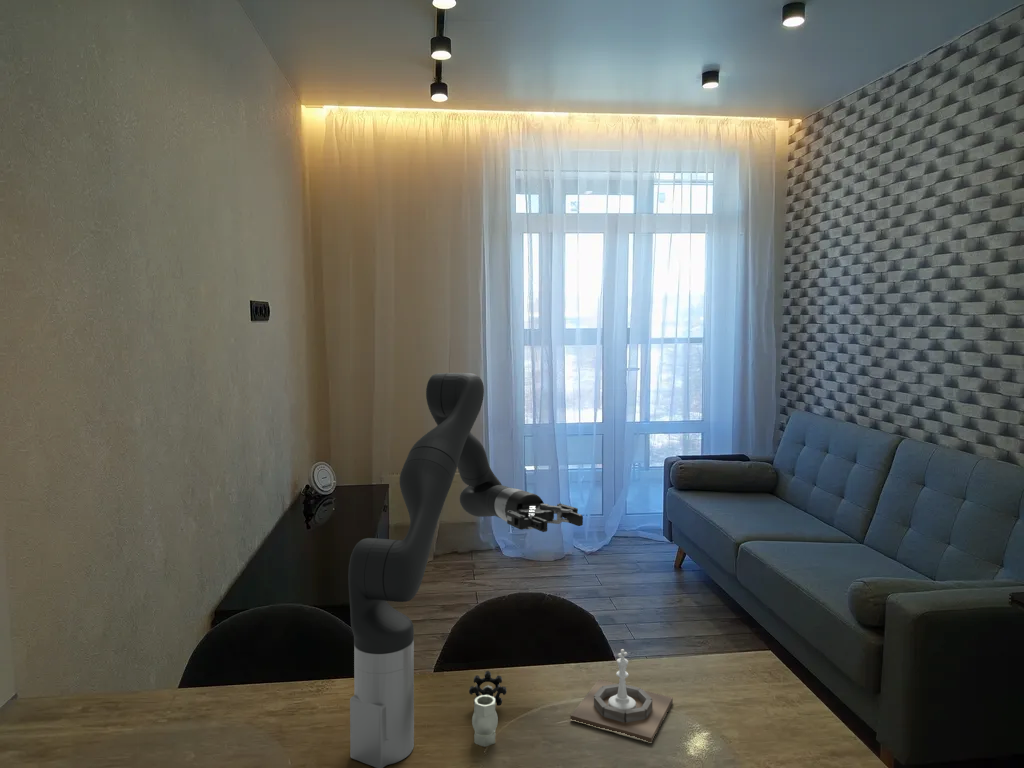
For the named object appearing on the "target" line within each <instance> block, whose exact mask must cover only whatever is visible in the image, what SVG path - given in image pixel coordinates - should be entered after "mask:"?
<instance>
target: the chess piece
mask: <svg viewBox="0 0 1024 768" xmlns="http://www.w3.org/2000/svg"><path fill="white" fill-rule="evenodd" d="M627 656H628V652H627V651H625V649H624V648H622V649H620V652H619V653H617V657H619V658H617V659H616V664H617V666H618V671H616V673H615V675H616V677H618V678H619V679H618V681H619V682H618V683H619V687H618V693H617V694H616V695H614V696H612V697H610V698H609V700H608V706H610V707H614V708H618V709H621V710H630V709H636V702H635V700H634V699H633V698H631V697H629V696H628V695H627V691H626V685H627V684H626V683H627V682H626V678H628V677H629V673H628V671H627V667H628V665H629V660H628V659H627V658H625V657H627Z"/></svg>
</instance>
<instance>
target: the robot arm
mask: <svg viewBox="0 0 1024 768" xmlns="http://www.w3.org/2000/svg"><path fill="white" fill-rule="evenodd" d="M484 395H485V386H484V383H483V380H482V378H481V376H479V375H477V374H475V373H472V372H471V373H470V372H438V373H434V374H433V375H431V376H430V377H429V379H428V381H427V384H426V389H425V397H426V403H427V406H428V407H427V408H428V410H429V412H430V414H431V416H432V418H433V420H434V421H435V423H436V425H437V426H435V427H434V428H432V429H431V430H429V431H428V432H427V433H425V434H424V435H422V437H420V438H419V439H418V440H417V441H416V442H415V443H414V445H412V447H411V448H410V450H409V452H408V454H407V457H406V459H405V462H404V463H403V466H402V468H401V471H400V475H399V488H400V493H401V495H402V498H403V500H404V501H403V502H404V503H405V506H406V509H407V512H408V515H409V528H408V531H407V533H406V536H405V537H404V538H403V539H402V540H400V539H388V538H373V537H367V538H363V539H361V540H359V541H358V542H356V544H355V546H354V548H353V549H352V552H351V555H350V558H349V563H348V564H349V565H348V576H347V577H348V595H349V609H350V611H349V612H350V614H349V615H350V628H351V632H352V634H353V647H354V651H353V653H354V654H353V655H354V656H353V657H354V658H353V659H354V660H353V661H354V662H353V663H354V664H353V666H354V667H353V668H354V669H353V670H354V671H353V672H354V673H353V675H354V678H353V679H354V682H353V683H354V684H353V685H354V687H353V688H354V695H353V696H351V697H350V699H349V736H350V738H349V741H350V742H349V743H350V748H349V749H350V758H351V759H353V760H354V761H358V762H360V763H363V764H366V765H368V766H372V767H374V768H385V767H386V766H388V765H393V764H396V763H399V762H400V761H402V760H405V758H407V757H408V756H410V754H411V753H412V752H413V749H414V747H415V705H414V704H415V695H414V693H415V691H414V690H415V688H414V687H415V685H414V684H415V683H414V682H415V680H414V679H415V678H414V676H415V674H414V673H415V671H414V670H415V669H414V667H415V666H414V664H415V663H414V661H415V659H414V658H415V651H414V650H415V643H414V641H415V640H414V638H415V637H414V629H415V628H414V623H413V622H412V619H410V617H409V616H407V615H406V614H404V613H402V612H401V611H399V610H397V609H395V608H394V607H393V606H392V605H390V603H388V602H396V603H397V602H398V603H406V602H409V601H411V600H412V599H413V598H414V597H415V596H416V594H417V593H418V592H419V589H420V587H421V585H422V582H423V578H424V575H425V572H426V567H427V564H428V560H429V557H430V554H431V553H430V552H431V548H432V544H433V540H434V536H435V532H436V528H437V525H438V523H439V519H440V516H441V513H442V510H443V507H444V503H445V501H446V499H447V497H448V493H449V491H450V489H451V486H452V484H453V480H454V478H455V475H456V472H457V469H458V473H459V476H460V479H461V481H462V482H463V483H464V484H465V485H467V486H466V487H465V488H464V489H462V491H461V493H460V494H459V502H460V506H461V507H462V508H463V510H464V511H465V512H467V513H468V514H469V515H472V516H474V517H480V518H482V517H483V518H485V517H496V518H499V519H501V520H503V521H504V522H506V524H508V525H510V526H511V527H514V528H516V529H518V530H522V531H523V530H537V531H539V532H542V533H546V532H548V524H555V525H560V524H561V523H567V524H568V523H569V524H571V525H574V526H577V527H582V526H583V524H584V516H583V515H582V514H580V513H579V511H578V510H579V509H578V508H577V507H574V506H571V505H567V504H564V503H563V504H562V503H557V505H551V504H549V503H544V500H543V499H542V498H541V497H540V496H539V495H538V494H536V493H533V492H529V491H526V490H523V489H520V488H515V487H514V488H512V487H509V486H506V485H503V484H502V483H501V481H500V480H499V479H498V478H497V476H496V475H495V473H494V471H493V470H492V469H491V467H490V464H489V460H488V456H487V451H486V450H485V448H484V445H483V444H482V442H481V441H480V440H479V439H478V438H477V436H476V435H474V434H473V433H472V432H471V431H472V429H473V426H474V424H475V422H476V420H477V418H478V416H479V414H480V412H481V408H482V407H483V401H484ZM555 515H556V519H554V518H555Z"/></svg>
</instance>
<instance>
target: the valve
mask: <svg viewBox="0 0 1024 768" xmlns="http://www.w3.org/2000/svg"><path fill="white" fill-rule="evenodd" d="M485 683H492V684H493V685H494V686H495V687H494V688H493V686H491V685H489V684H487V685H485V686H483V687H482V688H481V686H482V684H485ZM502 683H503V677H502V676H501V675H497V676H495V678H493V677H492V672H491V671H490V670H487V671H485V672H484V677H483V678H481V676H480V675H477V674H476V675H474V677H473V684H476V685H475V686H474V685H472V686H470V687H469V688H468V693H469V695H470V696H472V695H473V694H475V697H474V698H473V705H474V707H473V708H474V711H473V713H472V717H471V724H472V728H473V730H474V733H473V734H474V736H473V737H474V740H473V741H474V744H476V745H477V746H478V745H479V746H481V747H484V748H485V747H488V746H492V745H494V744H496V729H497V727H498V723H499V718H498V713H497V711H496V706H498V707H499V706H502V704H503V698H502V697H500V695H503V696H505V695H506V694H507V693H508V692H507V691H508V690H507V687H506V686H504V685H502V686H501V685H500V684H502ZM495 693H496V694H495ZM494 694H495V695H494Z"/></svg>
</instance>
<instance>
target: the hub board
mask: <svg viewBox="0 0 1024 768" xmlns="http://www.w3.org/2000/svg"><path fill="white" fill-rule="evenodd" d="M618 687H619V682H618V683H614V682H611V681H607V680H603V679H598V680H597V681H596V682H595V684H594V685H593V686H592V687H591V689H590V690H589V691H588V693H587V694H586V695H585V696H584V698H583V699H582V700H581V701H580V702H579V704H577V706H576V708H575V709H574V710H573V712H571V714H570V716H569V717H570V719H572V720H576V721H579V722H583V723H586V724H590V725H593V726H596V727H600V728H605V729H609V730H612V731H617V732H621V733H625V734H627V735H630V736H635V737H637V738H640V739H643V740H646V741H648V742H652V740H653V738H654V736H655V734H656V733H657V734H658V732H659V730H660V728H661V726H662V725H661V723H662V721H663V719H664V717H665V716H667V715H666V714H668V713H669V711H670V709H671V708H672V705H673V704H674V703H673V702H674V701H673V700H674V699H673V697H672V696H668V695H665V694H664V695H663V694H659V693H655V692H652V691H649V690H648V691H647V690H644V689H643V688H641V687H638V686H635V685H630V684H626V691H627V695H628V696H629V697H631V698H633V699H634V700H635V702H636V709H630V710H621V709H618V708H614V707H610V706H608V700H609V698H610V697H612V696H614V695H616V694H617V693H618ZM668 710H669V711H668ZM667 712H668V713H667ZM665 718H666V717H665ZM570 719H569V720H570ZM664 720H665V719H664ZM663 722H664V721H663ZM662 724H663V723H662ZM660 725H661V726H660ZM659 727H660V728H659ZM658 729H659V730H658ZM657 731H658V732H657ZM657 734H656V735H657ZM655 737H656V736H655ZM654 739H655V738H654ZM653 741H654V740H653ZM652 743H653V742H652Z"/></svg>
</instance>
